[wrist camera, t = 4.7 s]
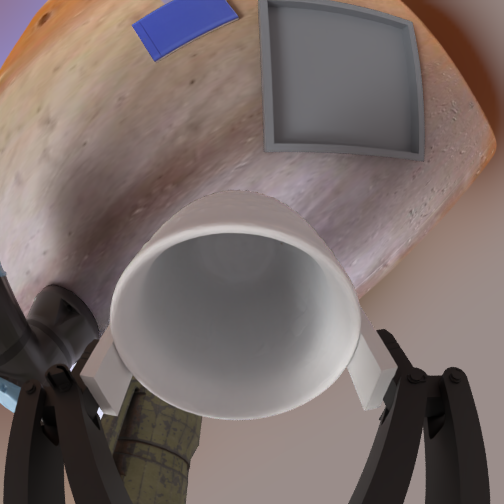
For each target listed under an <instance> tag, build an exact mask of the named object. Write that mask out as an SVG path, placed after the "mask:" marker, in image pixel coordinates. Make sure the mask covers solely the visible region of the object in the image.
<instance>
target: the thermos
mask: <svg viewBox="0 0 504 504" xmlns="http://www.w3.org/2000/svg"><path fill="white" fill-rule="evenodd" d="M201 422H202V416H200V415H196V414H193V413H190V412H187V411H184V410H181V409H179V408H177V407H175V406H172V405H170V404H168V403H167V402H165V401H163V400H162V399H160V398H159V397H157V396H156V395H154V394H153V393H152V392H150V391H149V390H148V389H147V388H145V387H144V386H143V385H142V384H141V383H140V382H139V381H138V380H137V379H136V378H135V377H134V376H132V378H131V381H130V384H129V386H128V389H127V392H126V394H125V397H124V400H123V402H122V405H121V408H120V411H119V414H118V416H113V415H108V414H103V416H102V418H101V424H102V427H103V430H104V434H105V437H106V440H107V443H108V446H109V448H110V451H111V454H112V457H113V459H114V462H115V465H116V467H117V470H118V472H119V474H120V477H121V479H122V481H123V484H124V486H125V488H126V490H127V493H128V495H129V497H130V499H131V501H132V503H133V504H186V495H187V486H188V472H189V468H190V461H191V458H192V456H193V454H194V453H195V451H196V449H197V447H198V446H199V438H200V429H201Z"/></svg>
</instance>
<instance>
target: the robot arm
mask: <svg viewBox="0 0 504 504" xmlns="http://www.w3.org/2000/svg"><path fill="white" fill-rule="evenodd" d="M360 310H361V330H360V336H359V340H358V343H357V346H356V349H355V351H354V354H353V356H352V358H351V360H350V362H349V363H348V365H347V368H348V371H349V373H350V376H351V378H352V381H353V383H354V386H355V388H356V391H357V393H358V396H359V399H360V401H361V404H362V406H363V409H364V411H366V410H370V409H374V408H379V407H380V405H381V403H382V401H384V403H385V405H386V407H385V409H384V411H383V413H382V415H381V417H380V418H379V420H381V422H380V425H379V428H378V431H377V434H376V437H375V440H374V443H373V446H372V449H371V451H370V454H369V457H368V460H367V462H366V465H365V467H364V470H363V472H362V475H361V477H360V479H359V482H358V484H357V486H356V488H355V491H354V493H353V495H352V497H351V499H350V501H349V503H348V504H403V502H404V499H405V496H406V493H407V490H408V487H409V484H410V480H411V477H412V473H413V470H414V465H415V462H416V458H417V453H418V449H419V444H420V439H421V434H422V428H423V430H424V442H425V461H426V496H425V504H490V489H489V477H488V468H487V460H486V453H485V448H484V442H483V436H482V432H481V427H480V422H479V418H478V414H477V410H476V407H475V403H474V399H473V395H472V392H471V389H470V386H469V382H468V379H467V376H466V374H465V373H464V372H463V371H462V370H461V369H459V368H456V367H450V368H447V369H446V370H445V371H444V373H443V375H442V376H428V375H427V374H426V373H425V372H424V371H423V370H421V369H419V368H414V367H413V366H412V364H411V363H410V361H409V360H408V358H407V357H406V355H405V353H404V352H403V350H402V349H401V348H400V346H399V344H398V343H397V341H396V340H395V338H394V337H393V335H392V334H391V333H389V332H388V331H387V330H385V329H381V330H375V328H374V327H373V325H372V323H371V322H370V320H369V319H368V317H367V316H366V314H365V312H364V311H363V309H362V308H361V306H360ZM98 337H99V332H98V327H97V324H96V321H95V319H94V317H93V315H92V313H91V312H90V310H89V309H88V308H87V306H86V305H85V304H84V303H83V302H82V301H81V300H80V299H79V298H78V297H77V296H76V295H75V294H73V293H72V292H70V291H69V290H67V289H65V288H62V287H59V286H48V287H45V288H44V289H43V290H42V291H41V292H40V293H38V294H37V296H36V297H35V299H34V302H33V304H32V306H31V309H30V311H29V313H28V316H27V318H25V316H24V314H23V312H22V310H21V308H20V306H19V304H18V302H17V300H16V298H15V296H14V294H13V291H12V289H11V287H10V284H9V282H8V280H7V277H6V272H4V270H3V268H2V265H1V263H0V403H1V404H2V405H3V406H5V407H6V408H7V409H9V410H10V411H12V412H13V413H14V417H13V422H12V427H11V431H10V437H9V443H8V449H7V457H6V465H5V476H4V498H3V503H4V504H65V494H64V493H65V491H64V465H65V469H66V473H67V477H68V481H69V484H70V488H71V491H72V494H73V497H74V501H75V503H76V504H133V503H132V501H131V499H130V497H129V495H128V493H127V490H126V488H125V486H124V484H123V481H122V479H121V477H120V474H119V472H118V470H117V467H116V465H115V462H114V459H113V457H112V454H111V451H110V448H109V446H108V443H107V440H106V437H105V434H104V430H103V427H102V424H101V420H100V417H99V415H98V414H97V410H98V408H99V407H100V409H101V410H102V412H103V413H104V414H108V415H113V416H118V414H119V411H120V408H121V405H122V402H123V400H124V397H125V394H126V392H127V389H128V386H129V384H130V381H131V378H132V376H133V375H132V373H131V372H130V371H129V370H128V368H127V367H126V366H125V364H124V362H123V361H122V359H121V358H120V355H119V353H118V351H117V349H116V347H115V344H114V341H113V337H112V333H111V327H110V324H109V325H108V327H107V329H106V330H105V332H104V334H103V335H102V337H101V339H100V340H98ZM76 362H77V363H76ZM75 363H76V365H75V367H74V368H73V370H72V372H71V371H70V368H71V366H72V365H74V364H75Z"/></svg>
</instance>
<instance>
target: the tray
mask: <svg viewBox="0 0 504 504" xmlns="http://www.w3.org/2000/svg"><path fill="white" fill-rule="evenodd" d="M258 19H259V38H260V59H261V83H262V109H263V138H264V152H322V153H343V154H359V155H371V156H382V157H392V158H400V159H408V160H416V161H423V162H424V144H425V131H424V103H423V89H422V78H421V70H420V62H419V55H418V49H417V43H416V37H415V32H414V27H413V23H412V22H411V21H408V20H405V19H402V18H399V17H396V16H393V15H390V14H387V13H383V12H380V11H376V10H372V9H368V8H364V7H360V6H356V5H351V4H346V3H341V2H336V1H330V0H258Z"/></svg>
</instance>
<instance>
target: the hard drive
mask: <svg viewBox="0 0 504 504" xmlns="http://www.w3.org/2000/svg"><path fill="white" fill-rule="evenodd" d="M238 19H239V17H238V15H237V14H236V13H235V11H234V10H233V9H232V8H231V6H230V5H229V4H228V3H227V1H226V0H173V1H171V2H169V3H167V4H165V5H164V6H162V7H160V8H158V9H157V10H155V11H153V12H151V13H150V14H148V15H147V16H145V17H143V18H142V19H140V20H139V21H137V22H136V23H134V24H133V25H132V26H133V28H134V30H135V31H136V33H137V34H138V36H139V38H140V39H141V41H142V42H143V44H144V46H145V47H146V49H147V50H148V52H149V54H150V55H151V57H152V59H153V60H154V61H155V62H156V63H157V62H158V61H160V60H161V59H163V58H165V57H166V56H168V55H170V54H171V53H173V52H175V51H176V50H178V49H180V48H182V47H183V46H185V45H187V44H189V43H191V42H192V41H194V40H196V39H198V38H200V37H202V36H204V35H206V34H208V33H210V32H212V31H214V30H216V29H218V28H220V27H222V26H225V25H227V24H229V23H231V22H234V21H236V20H238Z"/></svg>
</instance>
